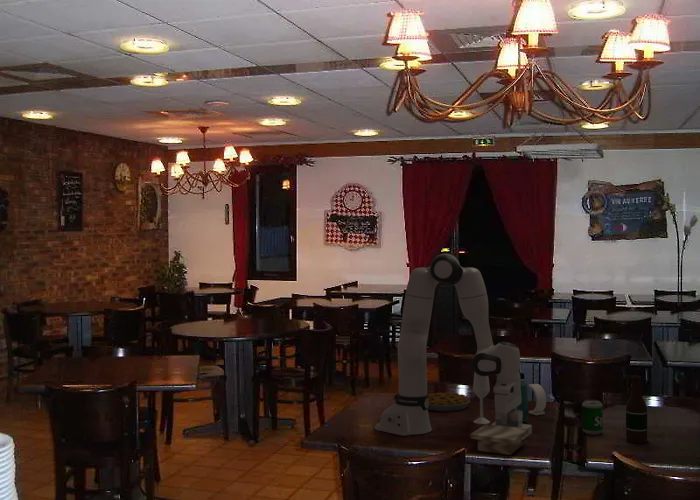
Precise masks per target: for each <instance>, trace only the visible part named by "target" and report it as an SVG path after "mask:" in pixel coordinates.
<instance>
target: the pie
mask: <svg viewBox="0 0 700 500" xmlns="http://www.w3.org/2000/svg"><path fill="white" fill-rule="evenodd" d="M427 394H428V400H429V405H428V411H429V410H430V411H433V412H457V411H461V410H465V409H467V408H468V406H469V405H468V404H470V403H471V399H470V397H469V396H468V395H465V394H463V393H461V394H459V393H458V392H454V393H453V392H449V391H445V392H441V391H437V392H436V393H433V392H429V393H427Z"/></svg>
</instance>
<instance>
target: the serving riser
mask: <svg viewBox="0 0 700 500" xmlns="http://www.w3.org/2000/svg"><path fill="white" fill-rule="evenodd" d="M527 434H528V429H524V428H516V427H508V426H499V425H491V424H490V423H487V424H483V425H482V426H481V427H479V428H478V429H476V430H474V431H473V432H471V433H470V434H469V439H473V440H477V451H480V452H486V453H494V454H502V455H508V456H511V455H512V454H513V453H515V452H516V451H517V450H519V449H520V448H521V447H522V441H521V438H523V437H524V436H525V435H527Z"/></svg>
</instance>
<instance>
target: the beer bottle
mask: <svg viewBox="0 0 700 500" xmlns="http://www.w3.org/2000/svg"><path fill="white" fill-rule="evenodd" d="M642 392H643V391H642V376H641V375H638V374H633V375H631V393H630V397H629V398H628V400H627V402H626V405H625V438H626V441H627V442H629V443H633V444H645V443H647V442H648V406H647V404H646V402H645V400H644V398H643V395H642V394H643V393H642Z"/></svg>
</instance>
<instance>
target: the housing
mask: <svg viewBox="0 0 700 500" xmlns="http://www.w3.org/2000/svg"><path fill="white" fill-rule="evenodd" d="M494 411H495V410H494ZM494 413H495V414H494V415H495V419H494V420H495V421H494V422H495V425H499V426H508V427H516V428H521V427H523V424H524V423H523V411H520V410H511V411H509V412H508V413H507V419H508V423H507V424H502V418H501V414H497V413H496V411H495V412H494Z"/></svg>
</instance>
